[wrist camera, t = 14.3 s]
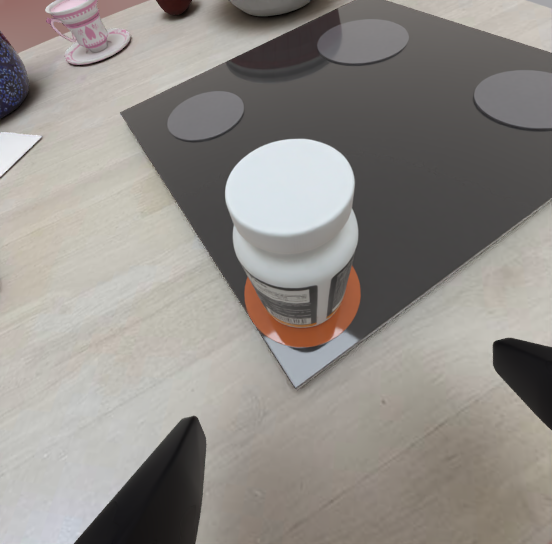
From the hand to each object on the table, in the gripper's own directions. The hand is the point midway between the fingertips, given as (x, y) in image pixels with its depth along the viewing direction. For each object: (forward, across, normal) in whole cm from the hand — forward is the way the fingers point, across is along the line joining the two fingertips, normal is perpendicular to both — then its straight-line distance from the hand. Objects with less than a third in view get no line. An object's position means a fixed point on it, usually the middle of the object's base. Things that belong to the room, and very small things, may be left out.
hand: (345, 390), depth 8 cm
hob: (+25, -10, -12) cm, 29 cm away
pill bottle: (+11, 0, +1) cm, 11 cm away
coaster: (+33, +33, -20) cm, 51 cm away
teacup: (+51, +22, -38) cm, 67 cm away
